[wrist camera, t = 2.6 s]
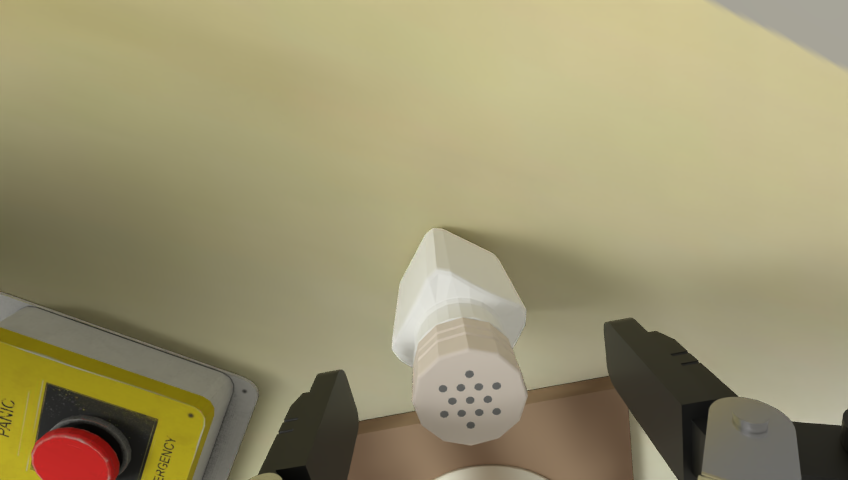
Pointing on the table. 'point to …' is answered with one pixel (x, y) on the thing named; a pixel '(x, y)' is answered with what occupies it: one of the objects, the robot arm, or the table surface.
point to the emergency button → (110, 404)
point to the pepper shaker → (460, 339)
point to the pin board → (509, 442)
